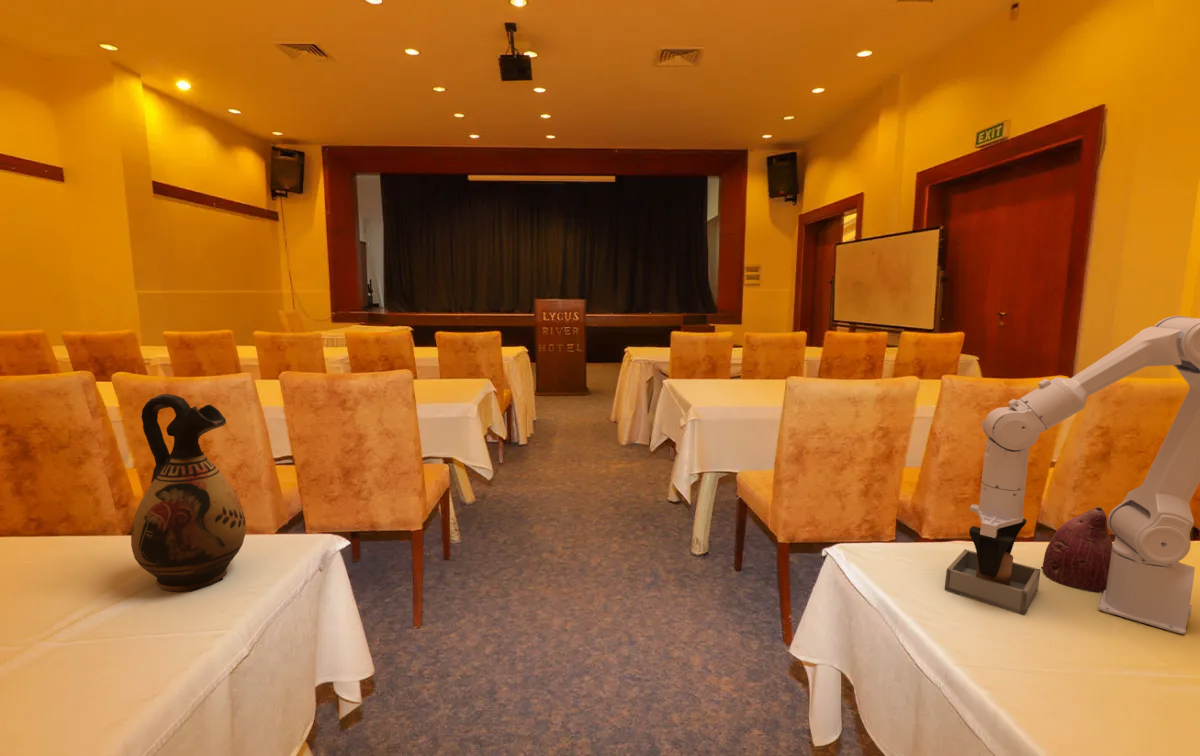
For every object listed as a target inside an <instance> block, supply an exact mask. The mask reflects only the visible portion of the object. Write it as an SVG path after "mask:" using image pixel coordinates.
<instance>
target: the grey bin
mask: <svg viewBox="0 0 1200 756" xmlns="http://www.w3.org/2000/svg"><path fill="white" fill-rule="evenodd" d="M977 563H978V558H977V552H976V551H973V550H969V549H964V550H962V552H961V553H960V554H959V555H958V556H957V557H956V558H955V559H954V561H952V563H951V564H950V565H949V566H948V567H947V568H946V571H945V580H944V581H945V582H944V591H947V592H950V593H953V594H956V595H960V596H962V597H965V598H968V599H973V600H976V601H979V602H981V603H985V604H987V605H991V606H994V607H998V608H1001V609H1003V610H1007V611H1011V612H1013V613H1015V614H1016V613H1017V614H1019V615H1023V616H1025V615H1026V614H1027V611H1028V609H1029V607H1030V605H1031V604H1032V602H1033V601H1034V598H1035V597H1034V596H1036V595H1035V594H1037V593H1038V591H1039V586H1040V585H1039V584H1040V576H1041V569H1040V568H1036V567H1032V566H1030V565H1029V566H1028V565H1025V564H1021V563H1018V562H1014V561H1013V564H1012V573H1011V581H1010V586H1007V585H1004V584H1000V583H997V582H993V581H990V580H987V579H983V578H980V577H976V572H977ZM1036 592H1037V593H1036Z"/></svg>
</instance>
